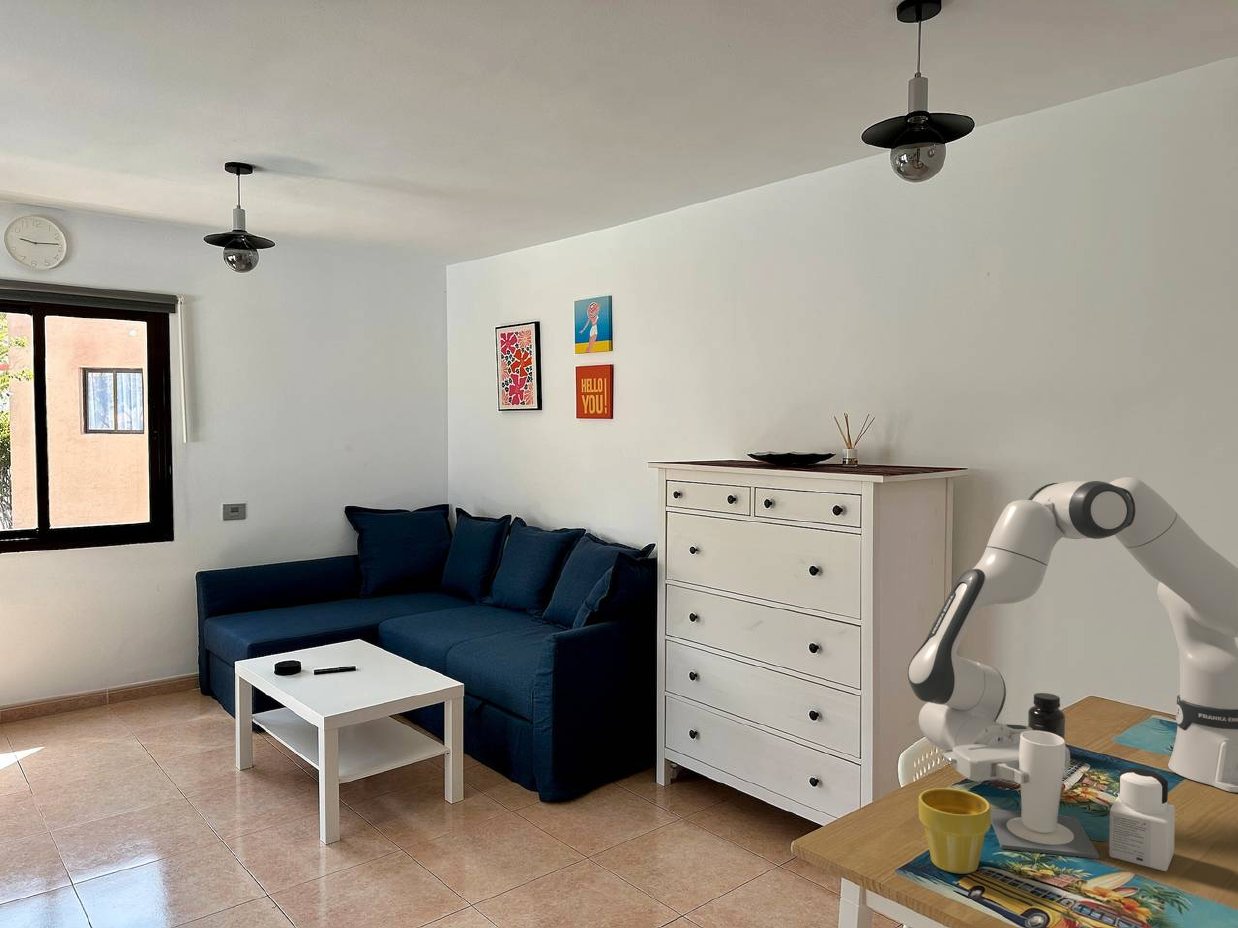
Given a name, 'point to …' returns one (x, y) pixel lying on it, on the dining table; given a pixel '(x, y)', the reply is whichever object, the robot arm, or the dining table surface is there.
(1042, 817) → the drinking glass
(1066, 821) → the mat
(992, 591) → the robot arm
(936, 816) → the plant pot
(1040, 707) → the supplement bottle
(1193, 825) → the dining table surface
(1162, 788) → the container
